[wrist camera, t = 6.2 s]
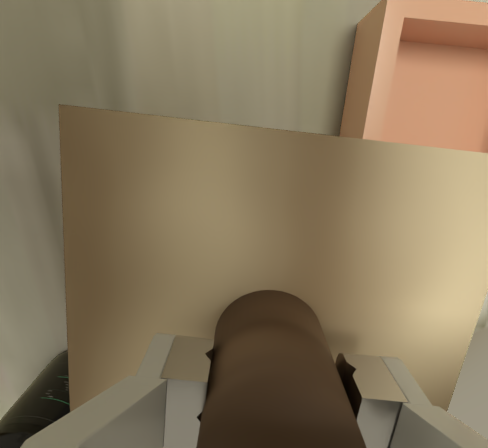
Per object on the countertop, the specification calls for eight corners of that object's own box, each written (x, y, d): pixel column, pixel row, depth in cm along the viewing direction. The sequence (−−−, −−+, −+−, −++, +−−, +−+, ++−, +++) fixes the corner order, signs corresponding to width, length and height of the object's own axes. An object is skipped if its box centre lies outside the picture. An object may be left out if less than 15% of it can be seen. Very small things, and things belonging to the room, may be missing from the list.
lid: (86, 445, 12) (-17, 645, 8) (78, 107, 9) (-107, 80, 4) (403, 475, 13) (498, 687, 8) (502, 155, 9) (768, 180, 5)
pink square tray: (330, 191, 25) (350, 205, 20) (357, 23, 22) (389, -8, 17) (477, 204, 25) (533, 222, 20) (524, 40, 22) (603, 14, 17)
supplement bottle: (92, 423, 31) (-3, 601, 19) (32, 377, 29) (-109, 538, 18) (142, 381, 29) (73, 544, 18) (81, 330, 28) (-36, 471, 16)
